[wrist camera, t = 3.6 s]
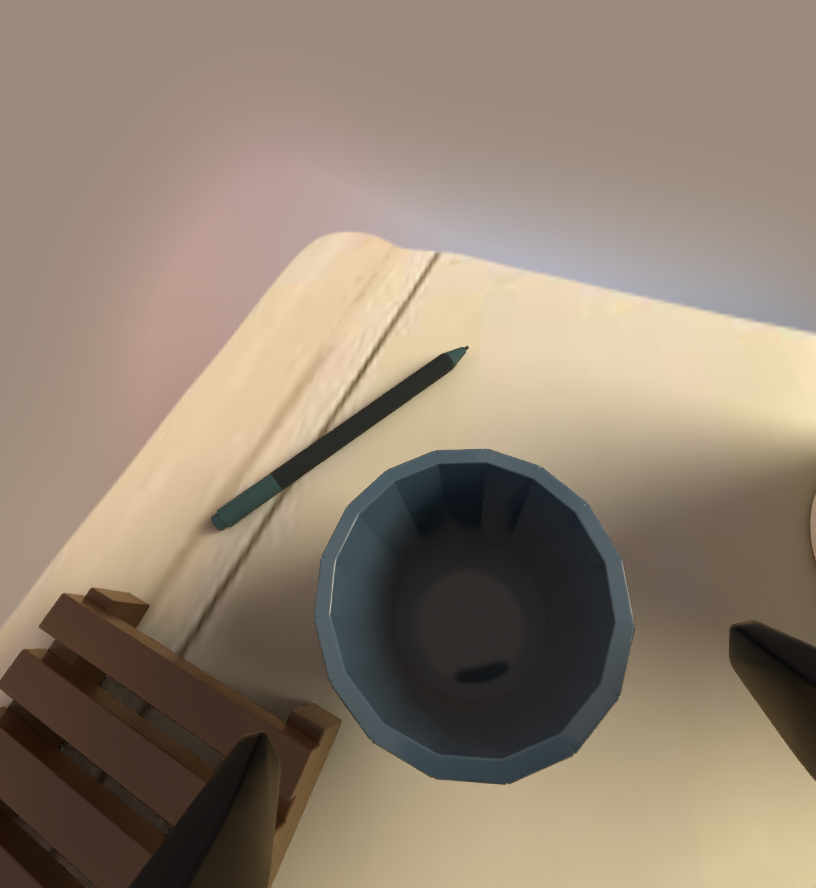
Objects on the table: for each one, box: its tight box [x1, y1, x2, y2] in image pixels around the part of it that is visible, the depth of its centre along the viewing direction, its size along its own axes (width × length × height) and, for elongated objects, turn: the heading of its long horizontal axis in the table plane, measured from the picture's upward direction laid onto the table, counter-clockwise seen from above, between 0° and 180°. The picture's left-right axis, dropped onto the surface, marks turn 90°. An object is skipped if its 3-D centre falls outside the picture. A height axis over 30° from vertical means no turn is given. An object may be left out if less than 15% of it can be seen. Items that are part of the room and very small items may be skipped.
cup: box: [314, 449, 635, 785], centre depth 13 cm, size 7×7×9 cm
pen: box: [211, 346, 469, 530], centre depth 21 cm, size 1×16×1 cm, turn 127°
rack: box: [0, 588, 341, 888], centre depth 15 cm, size 11×12×3 cm
